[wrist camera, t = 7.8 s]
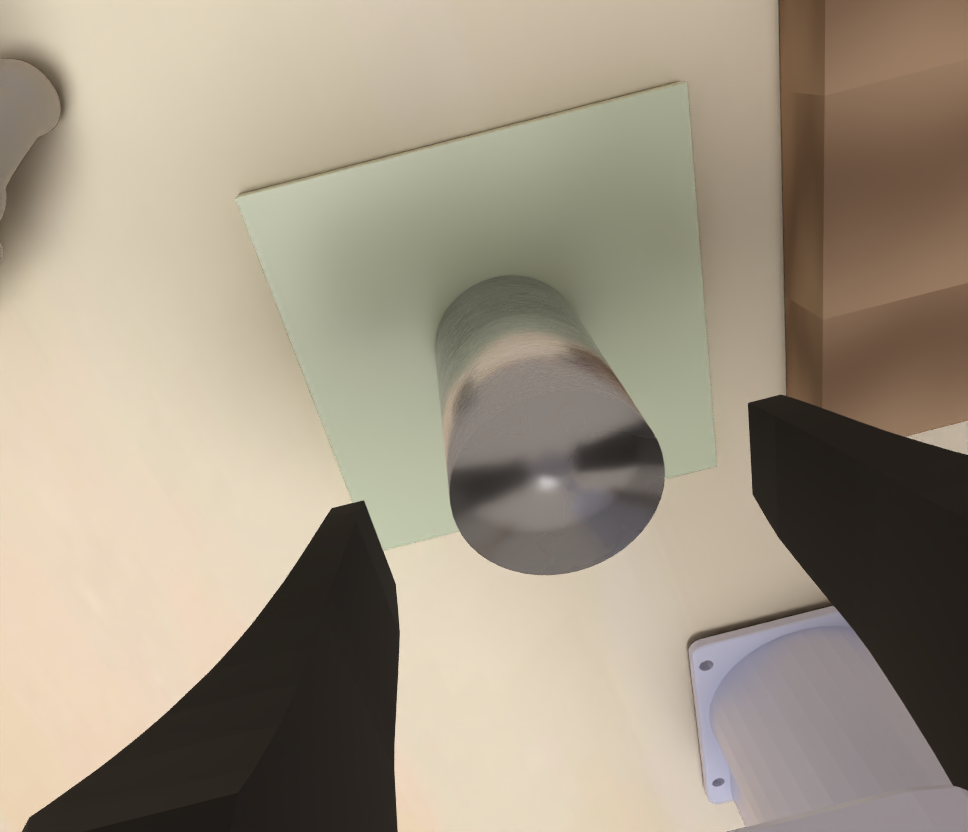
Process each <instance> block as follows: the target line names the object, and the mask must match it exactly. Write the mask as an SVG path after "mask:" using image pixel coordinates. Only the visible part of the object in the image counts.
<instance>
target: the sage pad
mask: <svg viewBox="0 0 968 832" xmlns="http://www.w3.org/2000/svg"><path fill="white" fill-rule="evenodd" d="M235 199H236V202H237V205H238V207H239V210H240V212H241V215H242V218H243V220H244V223H245V225H246V228H247V231H248V233H249V236H250V238H251V241H252V243H253V246H254V249H255V251H256V254H257V256H258V259H259V262H260V264H261V267H262V269H263V272H264V274H265V277H266V280H267V282H268V285H269V287H270V290H271V293H272V295H273V298H274V300H275V303H276V306H277V308H278V311H279V313H280V316H281V318H282V321H283V324H284V326H285V329H286V331H287V334H288V337H289V339H290V342H291V344H292V347H293V349H294V352H295V355H296V357H297V360H298V362H299V365H300V368H301V370H302V373H303V375H304V378H305V381H306V383H307V386H308V388H309V391H310V393H311V396H312V399H313V401H314V404H315V406H316V409H317V412H318V414H319V417H320V419H321V422H322V425H323V427H324V430H325V432H326V435H327V437H328V440H329V443H330V445H331V448H332V450H333V453H334V456H335V458H336V461H337V463H338V466H339V468H340V471H341V474H342V476H343V479H344V481H345V484H346V487H347V489H348V492H349V494H350V497H351V500H352V502H353V503H355V502H359V501H363V500H364V501H365V504H366V507H367V509H368V512H369V515H370V517H371V520H372V523H373V525H374V528H375V531H376V533H377V536H378V539H379V541H380V544H381V547H382V549H383V551H384V550H388V549H392V548H396V547H400V546H404V545H408V544H412V543H416V542H420V541H424V540H428V539H432V538H436V537H439V536H443V535H447V534H451V533H455V532H459V529H458V527H457V525H456V523H455V520H454V518H453V515H452V510H451V506H450V498H449V488H448V478H447V468H446V458H445V448H444V438H443V428H442V419H441V409H440V399H439V389H438V379H437V369H436V359H435V338H436V333H437V329H438V326H439V323H440V321H441V319H442V317H443V315H444V313H445V311H446V310H447V309H448V307H449V306H450V304H451V303H452V302H453V301H454V300H455V299H456V298H457V297H458V296H459V295H460V294H462V293H463V292H464V291H465V290H467V289H468V288H470V287H472V286H473V285H475V284H477V283H479V282H481V281H484V280H487V279H490V278H494V277H499V276H510V275H514V276H524V277H529V278H533V279H536V280H539V281H542V282H543V283H545V284H547V285H549V286H551V287H552V288H554V289H555V290H557V291H558V292H559V293H560V294H561V295H562V296H563V297H564V298H565V299H566V300H567V302H568V303H569V304H570V306H571V307H572V309H573V310H574V312H575V313H576V315H577V316H578V318H579V319H580V321H581V323H582V324H583V326H584V327H585V329H586V330H587V332H588V333H589V335H590V336H591V338H592V339H593V341H594V342H595V344H596V346H597V347H598V349H599V350H600V352H601V353H602V355H603V356H604V358H605V359H606V361H607V362H608V364H609V365H610V367H611V368H612V370H613V372H614V373H615V375H616V376H617V378H618V379H619V381H620V382H621V384H622V385H623V387H624V388H625V390H626V391H627V393H628V395H629V396H630V398H631V399H632V401H633V402H634V404H635V405H636V407H637V408H638V410H639V411H640V413H641V414H642V416H643V417H644V419H645V421H646V422H647V424H648V425H649V427H650V428H651V430H652V431H653V433H654V435H655V437H656V438H657V440H658V442H659V445H660V448H661V450H662V454H663V459H664V466H665V479H668V478H672V477H676V476H680V475H684V474H688V473H692V472H696V471H700V470H704V469H708V468H712V467H716V466H717V459H716V446H715V434H714V421H713V408H712V395H711V382H710V369H709V356H708V343H707V330H706V317H705V305H704V292H703V279H702V266H701V253H700V240H699V227H698V214H697V201H696V188H695V176H694V163H693V150H692V137H691V124H690V111H689V98H688V85H687V82H676V83H672V84H668V85H664V86H660V87H656V88H652V89H648V90H645V91H641V92H637V93H633V94H629V95H625V96H621V97H617V98H613V99H609V100H606V101H602V102H598V103H594V104H590V105H586V106H582V107H578V108H574V109H570V110H567V111H563V112H559V113H555V114H551V115H547V116H543V117H539V118H535V119H531V120H528V121H524V122H520V123H516V124H512V125H508V126H504V127H500V128H496V129H493V130H489V131H485V132H481V133H477V134H473V135H469V136H465V137H461V138H457V139H454V140H450V141H446V142H442V143H438V144H434V145H430V146H426V147H422V148H418V149H415V150H411V151H407V152H403V153H399V154H395V155H391V156H387V157H383V158H379V159H376V160H372V161H368V162H364V163H360V164H356V165H352V166H348V167H344V168H341V169H337V170H333V171H329V172H325V173H321V174H317V175H313V176H309V177H305V178H302V179H298V180H294V181H290V182H286V183H282V184H278V185H274V186H270V187H266V188H263V189H259V190H255V191H251V192H247V193H243V194H239V195H238V196H237V197H236V198H235Z"/></svg>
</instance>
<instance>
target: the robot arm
mask: <svg viewBox="0 0 968 832" xmlns="http://www.w3.org/2000/svg"><path fill="white" fill-rule="evenodd" d="M748 412H749V432H750V451H751V470H752V490H753V496H754V497H755V499H756V501H757V502H758V504H759V506H760V508H761V509H762V511H763V513H764V515H765V516H766V518H767V520H768V521H769V523H770V525H771V526H772V528H773V529H774V531H775V533H776V534H777V536H778V537H779V539H780V540H781V541H782V543H783V544H784V545H785V546H786V548H787V549H788V550H789V551H790V553H791V554H792V555H793V556H794V558H795V559H796V560H797V561H798V563H799V564H800V565H801V566H802V568H803V569H804V570H805V571H806V573H807V574H808V575H809V576H810V577H811V579H812V580H813V581H814V582H815V584H816V585H817V586H818V587H819V588H820V590H821V591H822V592H823V593H824V595H825V596H826V597H827V598H828V599H829V601H830V602H831V603H832V604H833V606H830V607H826V608H822V609H818V610H814V611H810V612H806V613H802V614H798V615H794V616H790V617H786V618H782V619H778V620H774V621H770V622H766V623H762V624H758V625H754V626H750V627H746V628H742V629H738V630H734V631H730V632H726V633H723V634H719V635H715V636H711V637H707V638H703V639H699V640H697V641H695V642H694V643H692V644H691V646H690V647H689V651H688V653H689V661H690V670H691V678H692V687H693V695H694V704H695V712H696V720H697V729H698V737H699V746H700V754H701V762H702V771H703V779H704V788H705V793H706V796H707V798H708V800H709V802H711V803H714V804H719V803H724V802H728V801H732V800H734V802H735V804H736V806H737V808H738V811H739V813H740V815H741V817H742V820H743V822H744V824H745V826H746V827H744V828H740V829H736V830H732V831H728V832H968V455H965V454H962V453H958V452H954V451H950V450H947V449H943V448H940V447H937V446H933V445H930V444H926V443H923V442H920V441H916V440H913V439H910V438H907V437H903V436H900V435H897V434H894V433H891V432H888V431H885V430H882V429H879V428H876V427H874V426H871V425H868V424H865V423H862V422H859V421H857V420H854V419H851V418H848V417H845V416H843V415H840V414H837V413H834V412H832V411H829V410H826V409H823V408H821V407H818V406H815V405H812V404H809V403H806V402H804V401H801V400H798V399H794V398H791V397H787V396H784V395H778V396H774V397H770V398H766V399H762V400H758V401H754V402H750V403H748ZM399 637H400V630H399V617H398V605H397V594H396V584H395V581H394V579H393V576H392V573H391V571H390V568H389V565H388V563H387V560H386V557H385V555H384V552H383V549H382V547H381V544H380V541H379V539H378V536H377V533H376V531H375V528H374V525H373V523H372V520H371V517H370V515H369V512H368V509H367V507H366V504H365V501H364V500H363V501H359V502H355V503H351V504H347V505H343V506H339V507H335V508H332V509H331V510H330V512H329V513H328V515H327V516H326V518H325V519H324V521H323V523H322V524H321V526H320V527H319V529H318V530H317V532H316V533H315V535H314V537H313V538H312V540H311V541H310V543H309V544H308V546H307V547H306V549H305V551H304V552H303V554H302V555H301V557H300V558H299V560H298V561H297V563H296V564H295V566H294V567H293V569H292V570H291V572H290V573H289V575H288V576H287V578H286V579H285V581H284V582H283V583H282V585H281V586H280V588H279V589H278V590H277V592H276V593H275V594H274V596H273V597H272V598H271V600H270V601H269V602H268V604H267V605H266V606H265V608H264V609H263V610H262V612H261V613H260V614H259V616H258V617H257V618H256V620H255V621H254V622H253V623H252V625H251V626H250V627H249V628H248V629H247V631H246V632H245V633H244V634H243V635H242V637H241V638H240V639H239V640H238V641H237V642H236V643H235V645H234V646H233V647H232V648H231V649H230V650H229V651H228V652H227V653H226V655H225V656H224V657H223V658H222V659H221V660H220V661H219V662H218V663H217V664H216V665H215V666H214V667H213V669H212V670H211V671H210V672H209V673H208V674H207V675H206V676H205V677H203V678H202V679H201V680H200V681H199V682H198V683H197V684H196V685H195V686H194V687H193V688H192V689H191V690H190V691H189V692H188V693H187V694H186V695H185V696H184V697H183V698H182V699H181V700H179V701H178V702H177V703H176V704H175V705H174V706H173V707H172V708H171V709H170V710H169V711H168V712H167V713H166V714H165V715H163V716H162V717H161V718H160V719H159V720H158V721H157V722H155V723H154V724H153V725H152V726H151V727H150V728H148V729H147V730H146V731H145V732H144V733H143V734H141V735H140V736H139V737H138V738H137V739H135V740H134V741H133V742H132V743H130V744H129V745H128V746H127V747H125V748H124V749H123V750H122V751H120V752H119V753H118V754H117V755H115V756H114V757H113V758H112V759H110V760H109V761H108V762H106V763H105V764H104V765H103V766H101V767H100V768H99V769H97V770H96V771H95V772H93V773H92V774H90V775H89V776H88V777H86V778H85V779H83V780H82V781H81V782H79V783H78V784H76V785H75V786H74V787H72V788H71V789H69V790H68V791H67V792H65V793H64V794H62V795H61V796H60V797H58V798H57V799H55V800H54V801H53V802H51V803H50V804H49V805H47V806H46V807H44V808H43V809H41V810H40V811H38V812H37V813H35V814H34V815H32V816H31V817H29V819H28V821H27V823H26V825H25V827H24V829H23V831H22V832H398V831H397V814H396V795H395V776H394V741H395V721H396V702H397V682H398V661H399Z"/></svg>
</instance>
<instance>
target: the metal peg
mask: <svg viewBox="0 0 968 832" xmlns="http://www.w3.org/2000/svg"><path fill="white" fill-rule="evenodd" d="M435 359H436V369H437V379H438V389H439V399H440V409H441V419H442V428H443V438H444V448H445V458H446V468H447V478H448V488H449V498H450V506H451V510H452V515H453V518H454V520H455V523H456V525H457V527H458V529H459V531H460V533H461V534H462V536H463V537H464V539H465V540H466V541H467V542H468V544H469V545H470V546H471V547H472V548H473V549H474V550H475V551H477V552H478V553H479V554H480V555H482V556H483V557H484V558H486V559H487V560H489V561H491V562H493V563H495V564H497V565H499V566H501V567H503V568H506V569H509V570H512V571H516V572H520V573H525V574H533V575H556V574H565V573H570V572H575V571H579V570H582V569H585V568H589V567H591V566H594V565H596V564H598V563H601V562H603V561H605V560H606V559H608V558H610V557H612V556H614V555H615V554H617V553H618V552H619V551H621V550H622V549H624V548H625V547H626V546H627V545H629V544H630V543H631V542H632V541H633V540H634V539H635V538H636V537H637V536H638V535H639V534H640V533H641V532H642V531H643V529H644V528H645V527H646V525H647V524H648V523H649V521H650V520H651V518H652V516H653V514H654V513H655V511H656V509H657V506H658V504H659V501H660V499H661V495H662V491H663V488H664V479H665V466H664V459H663V454H662V450H661V448H660V445H659V442H658V440H657V438H656V437H655V435H654V433H653V431H652V430H651V428H650V427H649V425H648V424H647V422H646V421H645V419H644V417H643V416H642V414H641V413H640V411H639V410H638V408H637V407H636V405H635V404H634V402H633V401H632V399H631V398H630V396H629V395H628V393H627V391H626V390H625V388H624V387H623V385H622V384H621V382H620V381H619V379H618V378H617V376H616V375H615V373H614V372H613V370H612V368H611V367H610V365H609V364H608V362H607V361H606V359H605V358H604V356H603V355H602V353H601V352H600V350H599V349H598V347H597V346H596V344H595V342H594V341H593V339H592V338H591V336H590V335H589V333H588V332H587V330H586V329H585V327H584V326H583V324H582V323H581V321H580V319H579V318H578V316H577V315H576V313H575V312H574V310H573V309H572V307H571V306H570V304H569V303H568V302H567V300H566V299H565V298H564V297H563V296H562V295H561V294H560V293H559V292H558V291H557V290H555V289H554V288H552V287H551V286H549V285H547V284H545V283H543V282H542V281H539V280H536V279H533V278H529V277H524V276H514V275H510V276H499V277H494V278H490V279H487V280H484V281H481V282H479V283H477V284H475V285H473V286H472V287H470V288H468V289H467V290H465V291H464V292H463V293H462V294H460V295H459V296H458V297H457V298H456V299H455V300H454V301H453V302H452V303H451V304H450V306H449V307H448V309H447V310H446V311H445V313H444V315H443V317H442V319H441V321H440V323H439V326H438V329H437V333H436V338H435Z"/></svg>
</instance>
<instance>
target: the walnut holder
mask: <svg viewBox="0 0 968 832" xmlns="http://www.w3.org/2000/svg"><path fill="white" fill-rule="evenodd" d="M779 20H780V72H781V123H782V175H783V226H784V278H785V329H786V381H787V397H791V398H794V399H798V400H801V401H804V402H806V403H809V404H812V405H815V406H818V407H821V408H823V409H826V410H829V411H832V412H834V413H837V414H840V415H843V416H845V417H848V418H851V419H854V420H857V421H859V422H862V423H865V424H868V425H871V426H874V427H876V428H879V429H882V430H885V431H888V432H891V433H894V434H897V435H900V436H903V437H905V436H909V435H913V434H917V433H921V432H925V431H928V430H932V429H936V428H940V427H944V426H948V425H952V424H956V423H960V422H964V421H968V0H779Z"/></svg>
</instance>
